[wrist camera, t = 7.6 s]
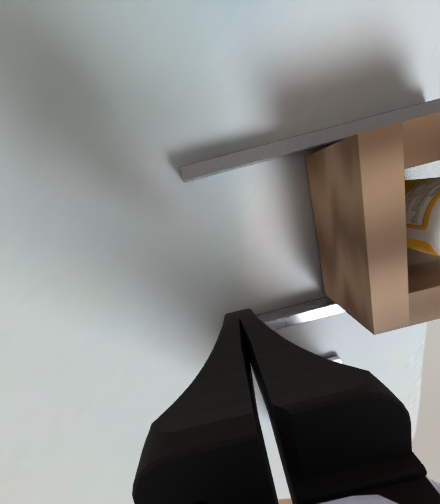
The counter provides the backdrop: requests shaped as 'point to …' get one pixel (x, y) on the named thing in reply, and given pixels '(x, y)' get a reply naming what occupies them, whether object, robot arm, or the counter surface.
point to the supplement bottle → (423, 215)
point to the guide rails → (294, 146)
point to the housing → (374, 225)
